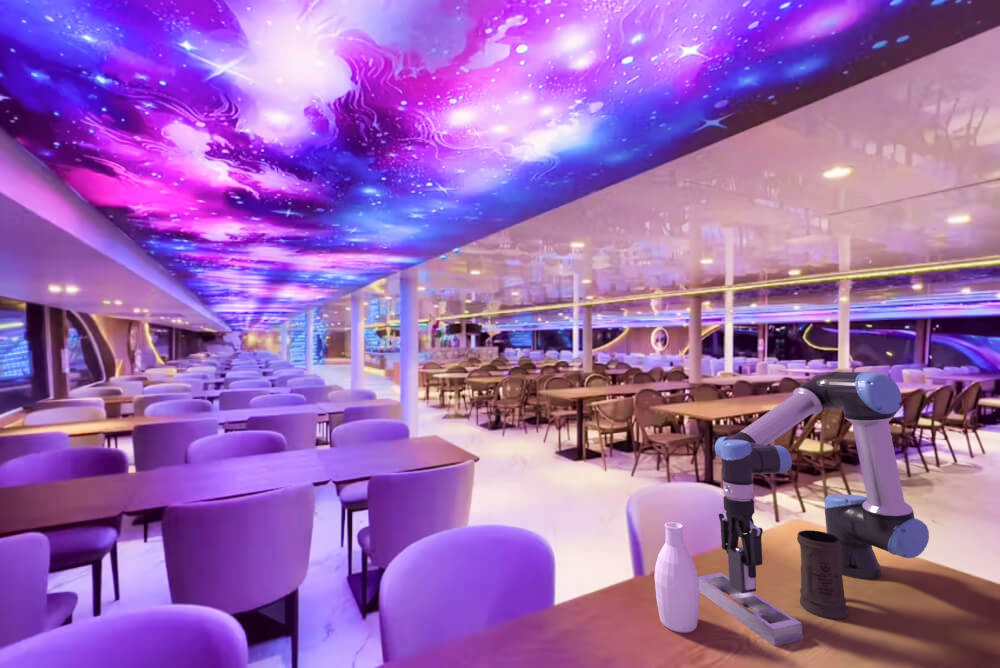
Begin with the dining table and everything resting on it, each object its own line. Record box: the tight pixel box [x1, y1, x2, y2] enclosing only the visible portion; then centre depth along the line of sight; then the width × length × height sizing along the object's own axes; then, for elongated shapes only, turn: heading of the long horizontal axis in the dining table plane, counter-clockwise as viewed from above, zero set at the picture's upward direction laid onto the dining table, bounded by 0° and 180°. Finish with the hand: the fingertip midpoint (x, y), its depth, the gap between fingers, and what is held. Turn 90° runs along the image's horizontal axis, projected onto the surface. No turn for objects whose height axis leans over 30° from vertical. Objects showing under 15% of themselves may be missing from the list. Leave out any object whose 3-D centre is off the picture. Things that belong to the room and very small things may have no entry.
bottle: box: [654, 521, 700, 634], centre depth 119 cm, size 11×11×25 cm
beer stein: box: [797, 529, 849, 620], centre depth 126 cm, size 15×11×20 cm
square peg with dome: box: [727, 546, 757, 594], centre depth 123 cm, size 4×4×11 cm
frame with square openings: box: [697, 572, 803, 647], centre depth 122 cm, size 8×28×4 cm, turn 15°
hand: (742, 583), depth 123 cm, fingers closed on square peg with dome, 4 cm apart
